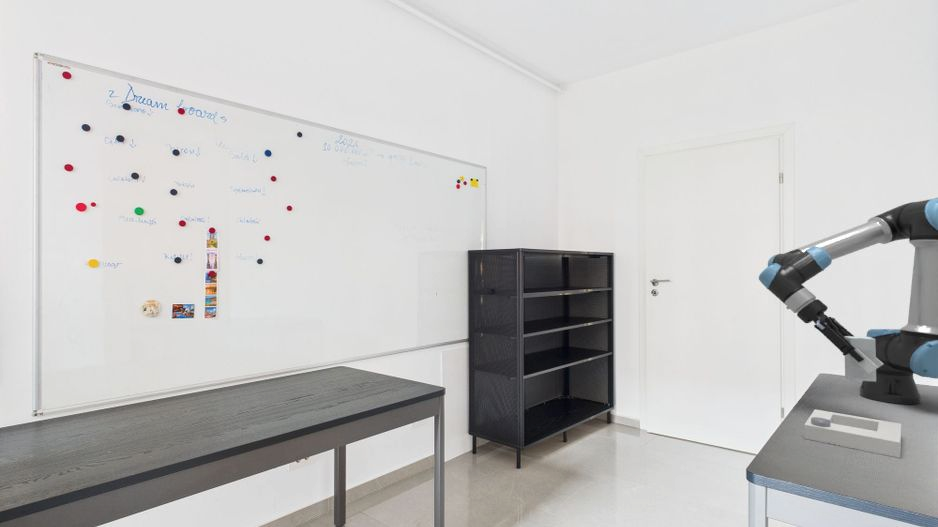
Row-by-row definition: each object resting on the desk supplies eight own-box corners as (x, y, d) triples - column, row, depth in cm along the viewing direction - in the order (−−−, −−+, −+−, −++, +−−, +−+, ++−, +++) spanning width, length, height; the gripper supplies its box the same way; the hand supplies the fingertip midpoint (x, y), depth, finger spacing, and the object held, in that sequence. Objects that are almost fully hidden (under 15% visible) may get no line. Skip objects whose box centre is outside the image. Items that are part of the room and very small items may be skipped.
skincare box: (869, 378, 136) (869, 336, 136) (876, 382, 132) (876, 338, 132) (843, 377, 138) (843, 335, 138) (850, 380, 134) (849, 337, 134)
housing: (814, 421, 134) (814, 405, 134) (901, 437, 121) (901, 419, 121) (804, 438, 121) (804, 419, 121) (900, 458, 108) (900, 437, 108)
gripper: (805, 312, 153) (871, 371, 140) (785, 316, 140) (856, 382, 128) (825, 296, 149) (895, 356, 136) (806, 299, 136) (881, 365, 124)
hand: (876, 368), depth 132 cm, fingers closed on skincare box, 6 cm apart
